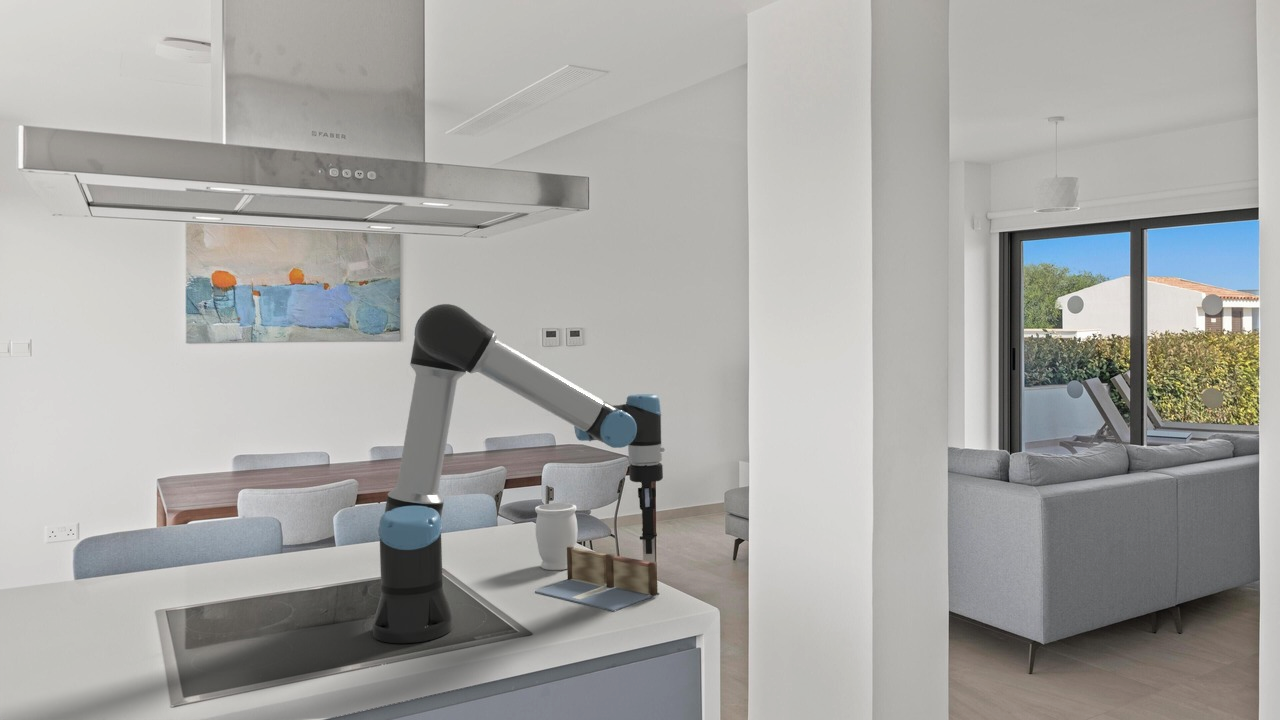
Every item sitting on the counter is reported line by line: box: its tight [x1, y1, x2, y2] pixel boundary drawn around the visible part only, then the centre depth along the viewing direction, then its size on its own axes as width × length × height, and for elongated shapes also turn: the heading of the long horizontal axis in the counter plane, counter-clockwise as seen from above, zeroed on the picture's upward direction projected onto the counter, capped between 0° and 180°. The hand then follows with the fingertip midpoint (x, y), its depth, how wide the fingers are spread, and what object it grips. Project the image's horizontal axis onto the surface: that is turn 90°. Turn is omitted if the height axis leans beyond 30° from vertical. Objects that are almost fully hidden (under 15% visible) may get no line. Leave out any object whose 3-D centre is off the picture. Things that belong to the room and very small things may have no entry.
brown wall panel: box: [566, 547, 615, 588], centre depth 201 cm, size 14×2×8 cm, turn 50°
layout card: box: [535, 578, 660, 612], centre depth 193 cm, size 24×15×1 cm, turn 50°
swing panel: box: [613, 555, 659, 597], centre depth 192 cm, size 12×2×7 cm, turn 50°
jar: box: [534, 502, 579, 571], centre depth 217 cm, size 11×10×15 cm
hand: (649, 566), depth 197 cm, fingers closed
